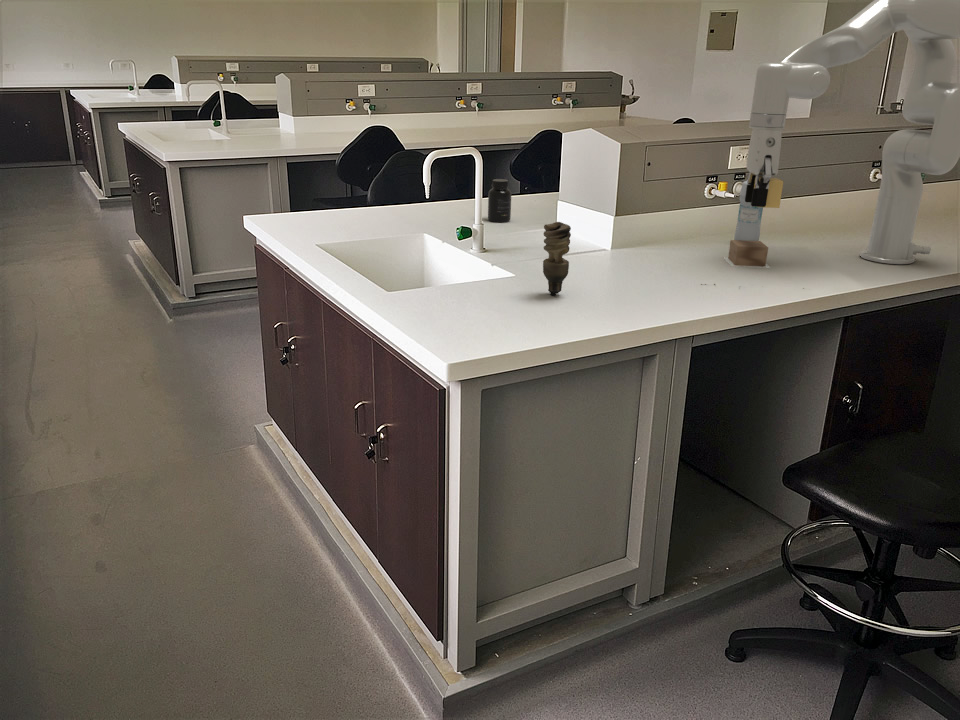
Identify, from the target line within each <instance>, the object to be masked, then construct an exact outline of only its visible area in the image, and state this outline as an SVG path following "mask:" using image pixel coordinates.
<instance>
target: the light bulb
mask: <svg viewBox="0 0 960 720" xmlns="http://www.w3.org/2000/svg"><path fill="white" fill-rule="evenodd" d="M543 229H544V230H545V231H544V232H543V236H544V237H545V239H543V243H544V244H545V245H544V246H543V250H544V251H546V253H548V258H545V259H543V260H542V262H543V263H542V273H543V276H544V277H545V278H546V280H547V284H548V289H547V291H548V292H549V294H550V296H556V295H557V294H559V293H560V292H562V288H563V287H562V286H563V281H564V280H565V279H566V278H567V276H568V274H569V269H570V261H569V260H568V259H565V258H563V256H564V255H566V254H568V253H569V251H570V246H569V245H570V244H571V239H570V238H571V236H572V235H571V234H572V233H571V229H572V228H571V226H570V224H567V223H564V222H562V221H561V222H560V221H555V222H552V223H549V224H547V223H546V224H544V225H543Z"/></svg>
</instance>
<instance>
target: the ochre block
mask: <svg viewBox="0 0 960 720" xmlns="http://www.w3.org/2000/svg"><path fill="white" fill-rule="evenodd" d="M760 179H761V178H759V181H760ZM755 181H756V177H755ZM783 186H784V180H782V179H780V178H778V177H771V178H770V182H769V188H768V195H767V201H766V206H765V207H764V208H766V209H767V208H768V209H769V208H771V209H779V208H780V206H781V200H782V194H783ZM754 188H755V183H754Z"/></svg>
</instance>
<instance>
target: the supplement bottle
mask: <svg viewBox="0 0 960 720" xmlns="http://www.w3.org/2000/svg"><path fill="white" fill-rule="evenodd" d="M491 182H492V183H491V187H492V188H491V189H490V190H489V191H488V196H487V197H488V199H487V200H488V201H487V202H488V203H487V220H488V221H489V222H491V223H497V224H503V223H509V222H510V221H511V216H512V213H511V212H512V192H511V191H512V190H510V189H509V180H508V179H504V178H503V179H502V178H496V179H492V180H491Z"/></svg>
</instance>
